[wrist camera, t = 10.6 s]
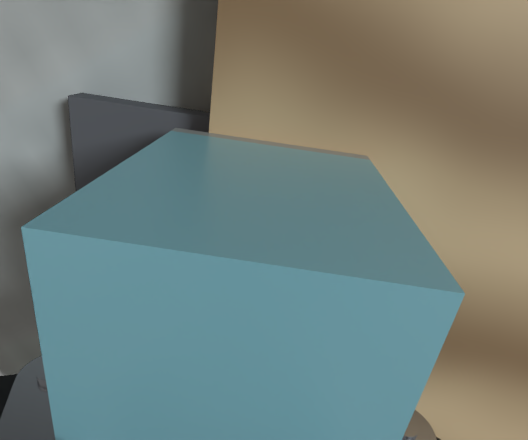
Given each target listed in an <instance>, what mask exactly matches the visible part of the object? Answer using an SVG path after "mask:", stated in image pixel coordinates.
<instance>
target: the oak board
mask: <svg viewBox="0 0 528 440" xmlns="http://www.w3.org/2000/svg"><path fill="white" fill-rule="evenodd" d="M209 133H215V134H222V135H228V136H235V137H242V138H249V139H256V140H263V141H269V142H276V143H283V144H290V145H297V146H304V147H311V148H317V149H324V150H331V151H338V152H345V153H352V154H358V155H365V156H368V158H369V159H370V160H371V162H372V163H373V165H374V166H375V167H376V169H377V170H378V172H379V173H380V174H381V176H382V177H383V179H384V180H385V181H386V183H387V184H388V186H389V187H390V189H391V190H392V191H393V193H394V194H395V196H396V197H397V198H398V200H399V201H400V203H401V204H402V205H403V207H404V208H405V210H406V211H407V212H408V214H409V215H410V217H411V218H412V220H413V221H414V222H415V224H416V225H417V227H418V228H419V229H420V231H421V232H422V234H423V235H424V236H425V238H426V239H427V241H428V242H429V243H430V245H431V246H432V248H433V249H434V250H435V252H436V253H437V255H438V256H439V258H440V259H441V260H442V262H443V263H444V265H445V266H446V267H447V269H448V270H449V272H450V273H451V274H452V276H453V277H454V279H455V280H456V281H457V283H458V284H459V286H460V287H461V289H462V290H463V291H464V293H465V296H464V298H463V300H462V302H461V305H460V307H459V309H458V312H457V314H456V316H455V319H454V321H453V323H452V325H451V328H450V330H449V332H448V335H447V337H446V339H445V342H444V344H443V346H442V348H441V351H440V353H439V355H438V358H437V360H436V362H435V365H434V367H433V369H432V371H431V374H430V376H429V378H428V381H427V383H426V385H425V388H424V390H423V392H422V394H421V397H420V399H419V401H418V404H417V406H416V408H415V410H416V411H417V412H419V413H420V414H421V415H422V416H423V417H424V418H425V419H426V420H427V421H428V423H429V424H430V425H431V427H432V429H433V431H434V433H435V435H436V437H438V438H439V439H441V440H528V0H218V12H217V26H216V40H215V53H214V67H213V80H212V94H211V108H210V121H209Z"/></svg>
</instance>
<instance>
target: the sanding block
mask: <svg viewBox="0 0 528 440" xmlns="http://www.w3.org/2000/svg"><path fill="white" fill-rule="evenodd" d="M21 230H22V236H23V242H24V249H25V255H26V261H27V267H28V273H29V279H30V286H31V292H32V298H33V304H34V310H35V316H36V323H37V329H38V335H39V341H40V347H41V353H42V360H43V366H44V372H45V378H46V384H47V390H48V397H49V403H50V409H51V415H52V421H53V427H54V434H55V440H402V438H403V436H404V434H405V431H406V429H407V427H408V424H409V422H410V420H411V417H412V415H413V413H414V411H415V408H416V406H417V404H418V401H419V399H420V397H421V394H422V392H423V390H424V388H425V385H426V383H427V381H428V378H429V376H430V374H431V371H432V369H433V367H434V365H435V362H436V360H437V358H438V355H439V353H440V351H441V348H442V346H443V344H444V342H445V339H446V337H447V335H448V332H449V330H450V328H451V325H452V323H453V321H454V319H455V316H456V314H457V312H458V309H459V307H460V305H461V302H462V300H463V298H464V296H465V293H464V291H463V290H462V289H461V287H460V286H459V284H458V283H457V281H456V280H455V279H454V277H453V276H452V274H451V273H450V272H449V270H448V269H447V267H446V266H445V265H444V263H443V262H442V260H441V259H440V258H439V256H438V255H437V253H436V252H435V250H434V249H433V248H432V246H431V245H430V243H429V242H428V241H427V239H426V238H425V236H424V235H423V234H422V232H421V231H420V229H419V228H418V227H417V225H416V224H415V222H414V221H413V220H412V218H411V217H410V215H409V214H408V212H407V211H406V210H405V208H404V207H403V205H402V204H401V203H400V201H399V200H398V198H397V197H396V196H395V194H394V193H393V191H392V190H391V189H390V187H389V186H388V184H387V183H386V181H385V180H384V179H383V177H382V176H381V174H380V173H379V172H378V170H377V169H376V167H375V166H374V165H373V163H372V162H371V160H370V159H369V158H368V156H365V155H358V154H352V153H345V152H338V151H331V150H324V149H317V148H311V147H304V146H297V145H290V144H283V143H276V142H269V141H263V140H256V139H249V138H242V137H235V136H228V135H222V134H215V133H208V132H201V131H194V130H187V129H180V128H174V129H173V130H171V131H170V132H168V133H167V134H165V135H164V136H162V137H160V138H159V139H157V140H156V141H154V142H153V143H151V144H150V145H148V146H146V147H145V148H143V149H142V150H140V151H139V152H137V153H136V154H134V155H132V156H131V157H129V158H128V159H126V160H125V161H123V162H122V163H120V164H118V165H117V166H115V167H114V168H112V169H111V170H109V171H108V172H106V173H104V174H103V175H101V176H100V177H98V178H97V179H95V180H94V181H92V182H90V183H89V184H87V185H86V186H84V187H83V188H81V189H80V190H78V191H76V192H75V193H73V194H72V195H70V196H69V197H67V198H66V199H64V200H62V201H61V202H59V203H58V204H56V205H55V206H53V207H52V208H50V209H48V210H47V211H45V212H44V213H42V214H41V215H39V216H37V217H36V218H34V219H33V220H31V221H30V222H28V223H27V224H25V225H23V226H22V227H21Z"/></svg>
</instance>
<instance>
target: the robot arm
mask: <svg viewBox="0 0 528 440" xmlns="http://www.w3.org/2000/svg"><path fill="white" fill-rule="evenodd" d="M0 440H55V434H54V427H53V421H52V415H51V409H50V403H49V397H48V390H47V384H46V378H45V372H44V366H43V360H42V356H39V357H37V358H35V359H34V360H32V361H31V362H29V363H28V364H27V365H25V366H24V367H23V368H22V369H21V370H20V372H19V373H18V374H14V375H7V376H0ZM402 440H441V439H439V438H438V437H436V435H435V433H434V431H433V429H432V427H431V425H430V424H429V423H428V421H427V420H426V419H425V418H424V417H423V416H422V415H421V414H420V413H419V412H417V411H416V410H415V411H414V413H413V415H412V417H411V420H410V422H409V424H408V427H407V429H406V431H405V434H404V436H403V438H402Z"/></svg>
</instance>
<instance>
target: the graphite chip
mask: <svg viewBox="0 0 528 440" xmlns="http://www.w3.org/2000/svg"><path fill="white" fill-rule="evenodd" d="M68 103H69V114H70V126H71V138H72V150H73V162H74V174H75V186H76V191H78V190H80V189H81V188H83V187H84V186H86V185H87V184H89V183H90V182H92V181H94V180H95V179H97V178H98V177H100V176H101V175H103V174H104V173H106V172H108V171H109V170H111V169H112V168H114V167H115V166H117V165H118V164H120V163H122V162H123V161H125V160H126V159H128V158H129V157H131V156H132V155H134V154H136V153H137V152H139V151H140V150H142V149H143V148H145V147H146V146H148V145H150V144H151V143H153V142H154V141H156V140H157V139H159V138H160V137H162V136H164V135H165V134H167V133H168V132H170V131H171V130H173V129H174V128H180V129H187V130H194V131H201V132H208V133H209V121H210V112H203V111H197V110H190V109H184V108H177V107H171V106H164V105H158V104H151V103H145V102H138V101H132V100H125V99H119V98H112V97H105V96H99V95H92V94H86V93H79V94H74V95H69V96H68Z"/></svg>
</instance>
